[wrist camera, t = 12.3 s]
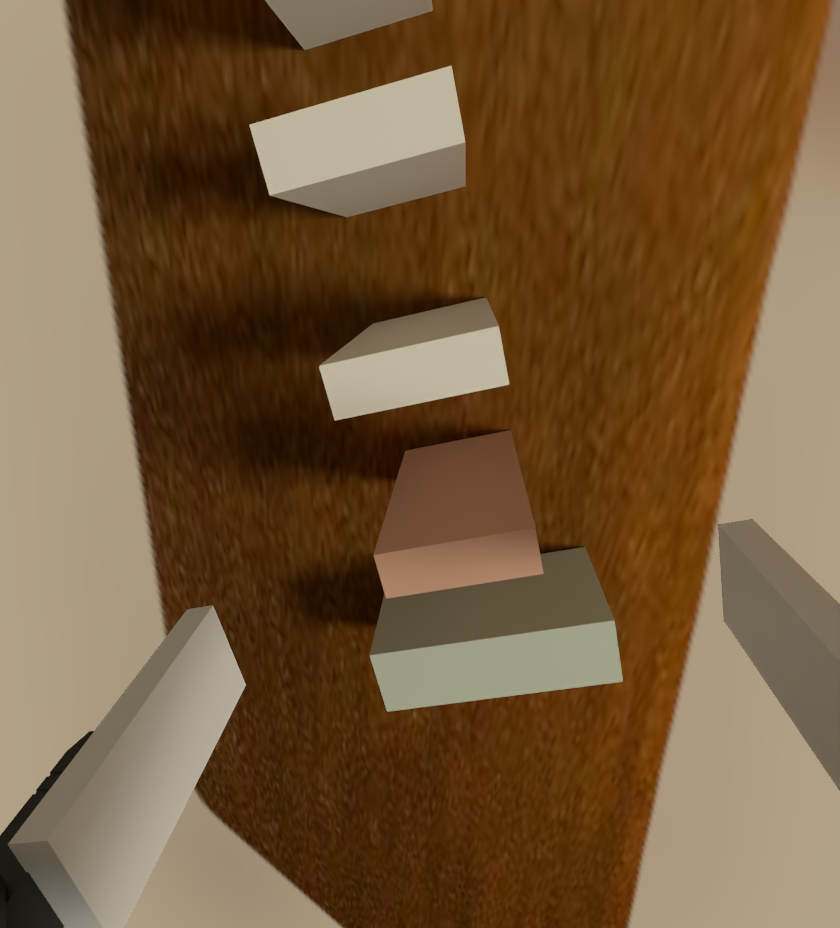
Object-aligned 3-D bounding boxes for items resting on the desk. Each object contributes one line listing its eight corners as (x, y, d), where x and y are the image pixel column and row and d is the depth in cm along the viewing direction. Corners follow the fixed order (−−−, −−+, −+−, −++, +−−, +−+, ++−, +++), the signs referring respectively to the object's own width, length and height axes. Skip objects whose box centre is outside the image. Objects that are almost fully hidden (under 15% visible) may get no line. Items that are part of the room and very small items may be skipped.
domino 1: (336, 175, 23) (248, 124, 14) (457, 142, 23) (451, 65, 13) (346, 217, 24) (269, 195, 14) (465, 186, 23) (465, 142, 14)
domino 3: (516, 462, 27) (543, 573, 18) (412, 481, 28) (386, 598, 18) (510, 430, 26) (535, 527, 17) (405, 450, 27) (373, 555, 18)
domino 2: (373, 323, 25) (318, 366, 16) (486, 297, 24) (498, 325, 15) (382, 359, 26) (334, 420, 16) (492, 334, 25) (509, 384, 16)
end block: (387, 579, 30) (369, 655, 24) (584, 546, 28) (614, 620, 23) (401, 627, 31) (387, 711, 25) (592, 598, 29) (622, 681, 24)
